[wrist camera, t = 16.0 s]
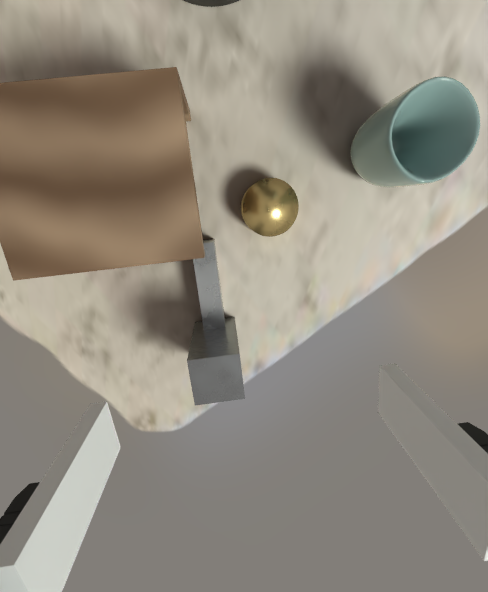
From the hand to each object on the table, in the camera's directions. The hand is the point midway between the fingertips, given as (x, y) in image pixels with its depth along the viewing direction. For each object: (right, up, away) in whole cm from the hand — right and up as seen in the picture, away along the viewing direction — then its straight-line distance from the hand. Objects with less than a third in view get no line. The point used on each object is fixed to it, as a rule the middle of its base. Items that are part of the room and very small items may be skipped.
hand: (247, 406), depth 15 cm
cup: (+15, +22, +20) cm, 33 cm away
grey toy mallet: (-4, +5, +23) cm, 24 cm away
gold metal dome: (+2, +16, +20) cm, 26 cm away
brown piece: (-13, +17, +18) cm, 28 cm away
